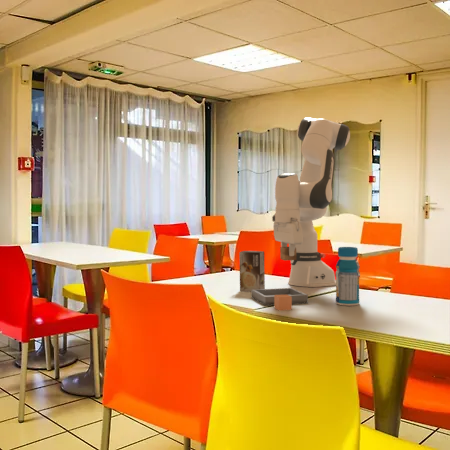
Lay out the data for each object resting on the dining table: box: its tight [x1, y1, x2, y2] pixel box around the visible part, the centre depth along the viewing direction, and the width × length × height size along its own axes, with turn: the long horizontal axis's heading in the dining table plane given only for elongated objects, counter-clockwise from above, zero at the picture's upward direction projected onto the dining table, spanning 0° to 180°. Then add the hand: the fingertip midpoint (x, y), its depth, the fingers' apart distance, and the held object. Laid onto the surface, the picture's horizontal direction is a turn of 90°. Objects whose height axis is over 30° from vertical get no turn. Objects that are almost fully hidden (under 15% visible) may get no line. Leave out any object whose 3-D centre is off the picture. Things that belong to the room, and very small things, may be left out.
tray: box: [251, 287, 309, 306], centre depth 198 cm, size 16×16×3 cm
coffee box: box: [238, 250, 266, 293], centre depth 219 cm, size 9×6×16 cm
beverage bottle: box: [334, 246, 361, 307], centre depth 190 cm, size 8×8×20 cm
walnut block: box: [279, 246, 296, 261], centre depth 198 cm, size 4×4×4 cm
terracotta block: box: [273, 295, 293, 311], centre depth 183 cm, size 4×4×4 cm
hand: (288, 255), depth 198 cm, fingers closed on walnut block, 4 cm apart
